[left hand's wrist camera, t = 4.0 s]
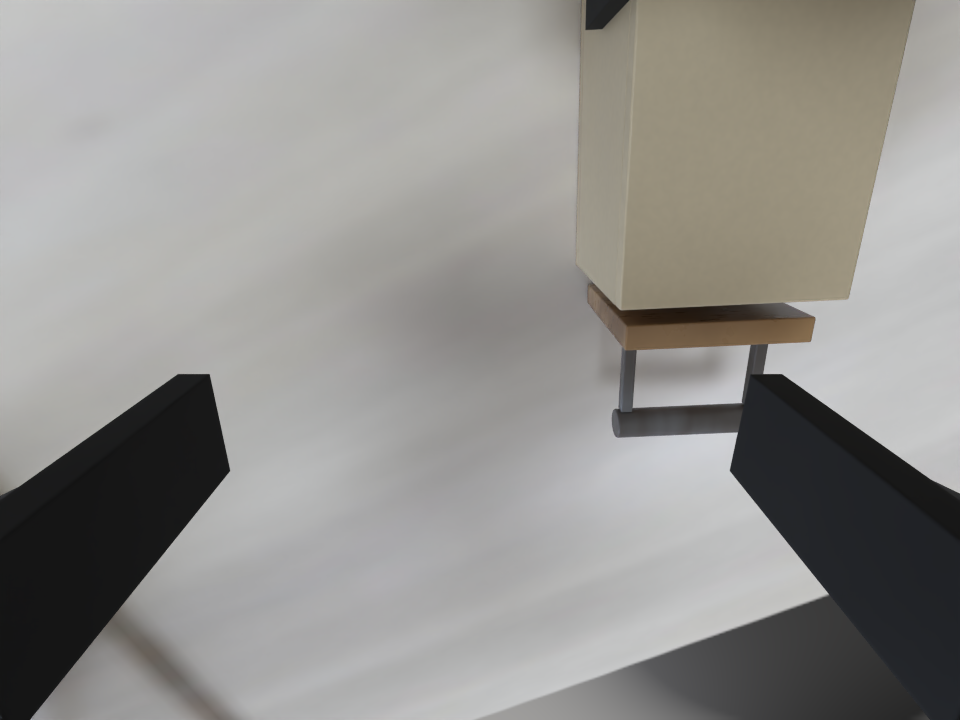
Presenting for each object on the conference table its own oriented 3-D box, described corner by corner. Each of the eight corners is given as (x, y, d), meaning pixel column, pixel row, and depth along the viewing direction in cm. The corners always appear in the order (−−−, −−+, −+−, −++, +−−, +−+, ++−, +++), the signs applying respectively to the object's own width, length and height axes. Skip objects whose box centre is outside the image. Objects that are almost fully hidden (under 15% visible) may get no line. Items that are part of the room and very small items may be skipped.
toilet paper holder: (714, 384, 33) (788, 453, 25) (584, 390, 33) (618, 461, 25) (766, -8, 25) (898, -85, 17) (596, 1, 25) (650, -71, 17)
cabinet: (733, 257, 31) (849, 300, 21) (575, 264, 31) (619, 311, 21) (780, -84, 25) (970, -238, 15) (582, -73, 25) (648, -219, 15)
